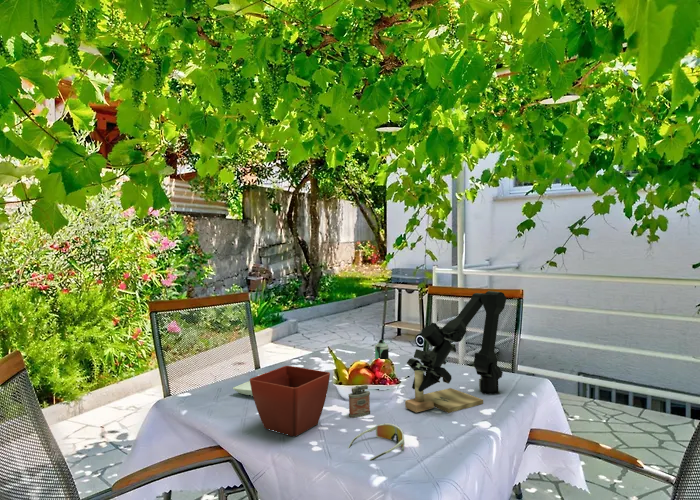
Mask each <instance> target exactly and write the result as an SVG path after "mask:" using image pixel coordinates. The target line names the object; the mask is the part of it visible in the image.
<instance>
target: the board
mask: <svg viewBox="0 0 700 500" xmlns="http://www.w3.org/2000/svg"><path fill="white" fill-rule="evenodd" d="M424 397H425V398H428V399H430V400H433V401H434V408H436V409H439V410H440V411H443V412H445V413H448V414H450V413H453V412H457V411H458V412H459V411H461V410H466V409H469V408H472V407H476V406H480V405H483V404H484V399H482V398H480V397H476V396H474V395H471V394H469V393H466V392H462V391H460V390H457V389H455V388H451V387H449V388H445V389H441V390H440V389H439V390H436V391H432V392H428V393H427V392H426V393H424Z"/></svg>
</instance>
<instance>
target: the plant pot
mask: <svg viewBox="0 0 700 500" xmlns="http://www.w3.org/2000/svg"><path fill="white" fill-rule="evenodd" d="M330 376H331V372H329V371H324V370H318V369H310V368H305V367H299V366H294V365H293V366H292V365H284V366H282V367H279V368H276V369H273V370H271V371H268V372H265V373H261V374H259V375H257V376H254V377H251V378H250V379H249V381H250V385H251V390H252V394H253V397H252V398H253V400H254V401H253V402H254V404H255V407H256V410H257V413H258V415H259V418H260V421H261V423H262V425H263V427H264V429H265V428H266V429H270V430H274V431H277V432H280V433H279V434H281V433H284V434H283V435H285V434H288V435H287V436H289V435H290V436H289V437H293V436H295V437H297V435H298V436H299V435H301V434H303V433H305V432H306V431H308V430H310V429H311V428H313V427H315V426H317V425H318V424H319V421H320V420H321V419H320V418H321V415H322V412H323V411H324V410H323V409H324V406H325V403H326V399H327V394H328V389H329V383H330V378H331V377H330ZM266 429H265V430H266ZM277 432H276V433H277Z"/></svg>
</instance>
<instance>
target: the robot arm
mask: <svg viewBox="0 0 700 500" xmlns="http://www.w3.org/2000/svg"><path fill="white" fill-rule="evenodd" d="M506 303H507V296H506V295H505V294H504V292H502V291H493V290H487V291H486V292H484V293H482V292H481V293H480V292H475V293H473V294H472V295H471V297H470V299H469V301H467V303H466V304H465V305H464V307H463V308H462V310H461V311H460V312H459V313H458V314H457V316H456V317H455V318H453V319H452V320H449V321H448V322H447V323H445V325H444V326H443V327H442V328H440V327H439V325H438V324H437V323H436V322H431V323H430V324H428V325H426V326H425V327H423V328H422V330H421V333H420V336H421V337H422V338H423V339H424V341H426V342H427V344H428V345H429V346H430V347H433V348H432V350H431V349H430V350H429V349H428V350H425V351H424V350H422V349H417V348H415V352H414V355H413V357H411V358H409V359H408V360H407V361H406V364H407V365H408V366H409V368H411V370H413V371H414V372H415V371H416V370H422V371H423V382H422V383H421V385H420V387H419V389H418V391H419V392H421V391H425V390H426V389H428V388H430V387H432V386H433V385H435V384H437V383H440V382H441V378H442V382H443V383H445V384H450V382H451V381H452V375H451V373H449V371H448V370H447V369H446V368H445V367H442V366H443V365H446V364H447V362H446V360H447V358H448V356H449V355H450V353H451V352H453V353H457V349H456V348H457V347H456V344H454V343H451V342H455V343H460V342H461V341H462V340H463V338H464V337H465V335H466V334H467V327H468V325H469V324H470V322H471V321H472V320H473V319H474V317H475V316H476V315H477V314H478V312H479V311H480V309H481V308H482V307H483V309H484V312H485V317H484V318H485V319H484V327H483V334H482V339H481V340H482V341H481V348H480V350H479V351H478V352H475V353H474V360H473V364H474V367H473V368H474V369H475V371H476V374H477V376H480V378H479V379H478V389H479V391H480V392H481V393H482V394H483V395H499V394H501V393H500V391H499V380H500V379H501V378H502V377H503V371H502V369H501V368H500V367H499V366H498V358H497V355H496V353H495V350H496V349H495V348H496V340H497V333H498V325H499V317H500V315H501V313H502V312H503V311H504V310H505V306H506ZM412 381H413V382H412V387H411V389H413V390H415V376H414V379H413V380H412Z"/></svg>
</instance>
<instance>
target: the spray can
mask: <svg viewBox="0 0 700 500" xmlns="http://www.w3.org/2000/svg"><path fill="white" fill-rule="evenodd" d="M378 358H380V359H388V360H389V359H390V357H389V344H387V343H386V342H385V340H384V339H382V338H381V339H379V341H378V342H377V344H375V346H374V361H375V360H376V359H378Z"/></svg>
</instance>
